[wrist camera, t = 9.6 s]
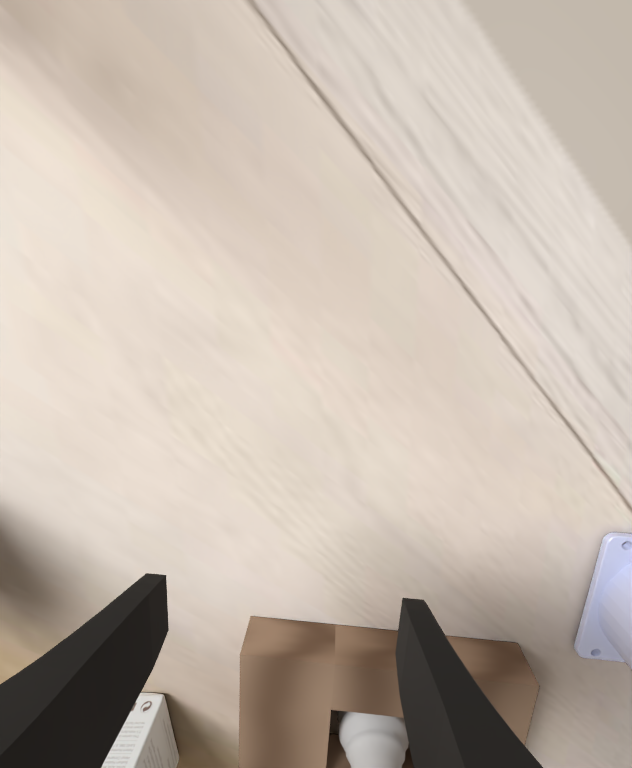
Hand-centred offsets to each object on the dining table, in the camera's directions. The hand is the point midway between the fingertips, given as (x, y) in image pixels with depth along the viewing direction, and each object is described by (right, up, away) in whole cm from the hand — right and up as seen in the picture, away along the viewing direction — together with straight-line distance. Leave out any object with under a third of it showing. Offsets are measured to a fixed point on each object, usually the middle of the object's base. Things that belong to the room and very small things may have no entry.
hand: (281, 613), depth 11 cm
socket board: (+5, -14, +13) cm, 19 cm away
